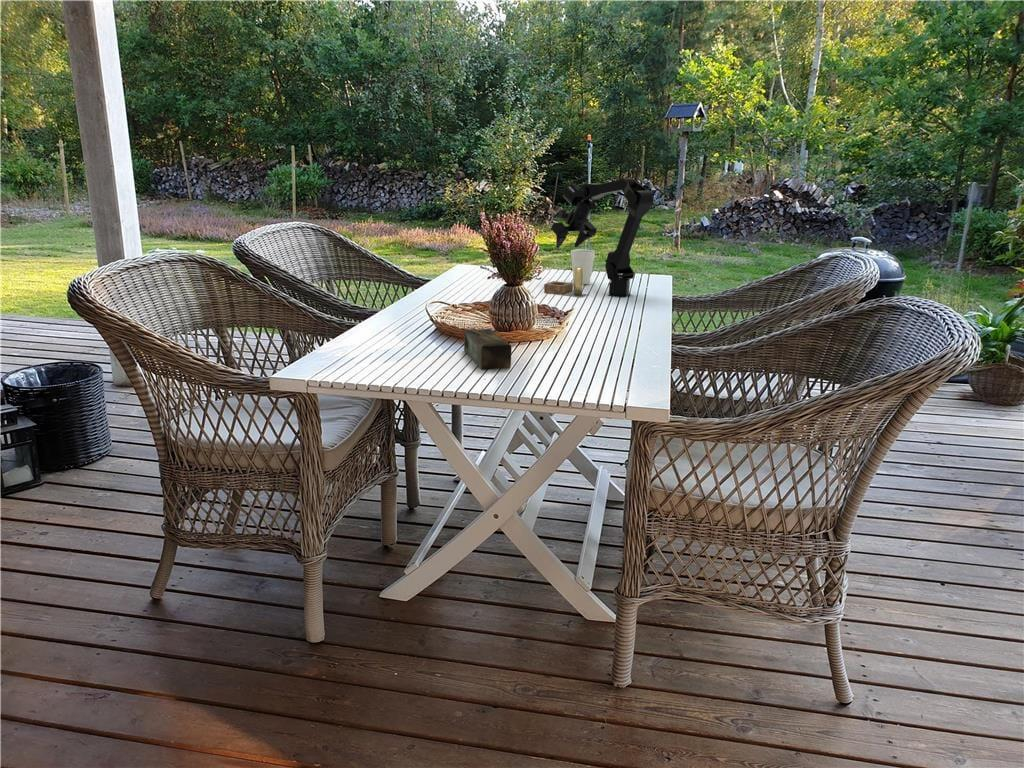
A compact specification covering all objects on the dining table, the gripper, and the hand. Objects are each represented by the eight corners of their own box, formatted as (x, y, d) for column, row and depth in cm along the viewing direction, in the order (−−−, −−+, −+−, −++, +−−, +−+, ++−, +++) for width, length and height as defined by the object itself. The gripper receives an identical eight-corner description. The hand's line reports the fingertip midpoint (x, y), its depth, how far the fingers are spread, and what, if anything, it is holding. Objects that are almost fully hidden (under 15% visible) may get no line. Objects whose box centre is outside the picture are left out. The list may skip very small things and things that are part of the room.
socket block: (572, 292, 281) (572, 283, 280) (563, 295, 274) (564, 286, 273) (553, 290, 285) (553, 281, 284) (544, 293, 278) (544, 284, 277)
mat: (589, 295, 276) (589, 294, 276) (581, 298, 270) (581, 297, 270) (571, 293, 279) (571, 292, 279) (563, 296, 273) (563, 295, 273)
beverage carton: (492, 349, 202) (492, 325, 200) (512, 369, 184) (512, 343, 182) (463, 351, 200) (463, 327, 198) (481, 371, 182) (481, 345, 180)
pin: (583, 294, 275) (584, 267, 272) (579, 296, 272) (581, 268, 269) (575, 294, 276) (576, 267, 273) (572, 295, 274) (573, 268, 271)
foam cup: (565, 282, 301) (566, 250, 297) (585, 281, 305) (586, 248, 301) (577, 286, 293) (578, 253, 289) (597, 285, 297) (599, 252, 293)
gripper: (588, 201, 294) (573, 234, 303) (551, 201, 283) (537, 235, 293) (604, 217, 288) (588, 251, 298) (566, 218, 277) (551, 253, 287)
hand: (566, 247), depth 294 cm, fingers open, 9 cm apart
